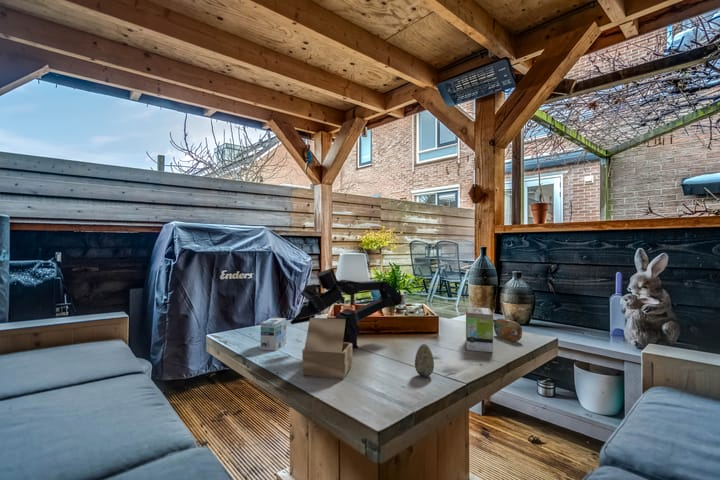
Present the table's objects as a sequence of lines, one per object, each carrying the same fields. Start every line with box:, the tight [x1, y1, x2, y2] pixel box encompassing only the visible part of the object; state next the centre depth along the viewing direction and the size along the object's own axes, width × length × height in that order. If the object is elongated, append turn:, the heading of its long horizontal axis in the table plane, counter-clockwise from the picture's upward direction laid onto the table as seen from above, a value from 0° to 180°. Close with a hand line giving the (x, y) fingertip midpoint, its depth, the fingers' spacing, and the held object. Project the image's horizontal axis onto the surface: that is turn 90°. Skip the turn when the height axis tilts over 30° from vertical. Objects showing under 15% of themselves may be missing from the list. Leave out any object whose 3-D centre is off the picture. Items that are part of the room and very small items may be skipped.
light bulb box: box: [260, 317, 287, 352], centre depth 141 cm, size 11×7×11 cm, turn 168°
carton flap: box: [303, 317, 346, 353], centre depth 110 cm, size 10×12×1 cm
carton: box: [301, 342, 353, 380], centre depth 113 cm, size 12×14×8 cm
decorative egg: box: [414, 343, 435, 378], centre depth 108 cm, size 6×6×10 cm
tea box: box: [465, 306, 494, 353], centre depth 141 cm, size 15×10×15 cm, turn 164°
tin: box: [493, 318, 523, 343], centre depth 151 cm, size 15×3×8 cm, turn 17°
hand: (293, 320), depth 126 cm, fingers open, 9 cm apart
